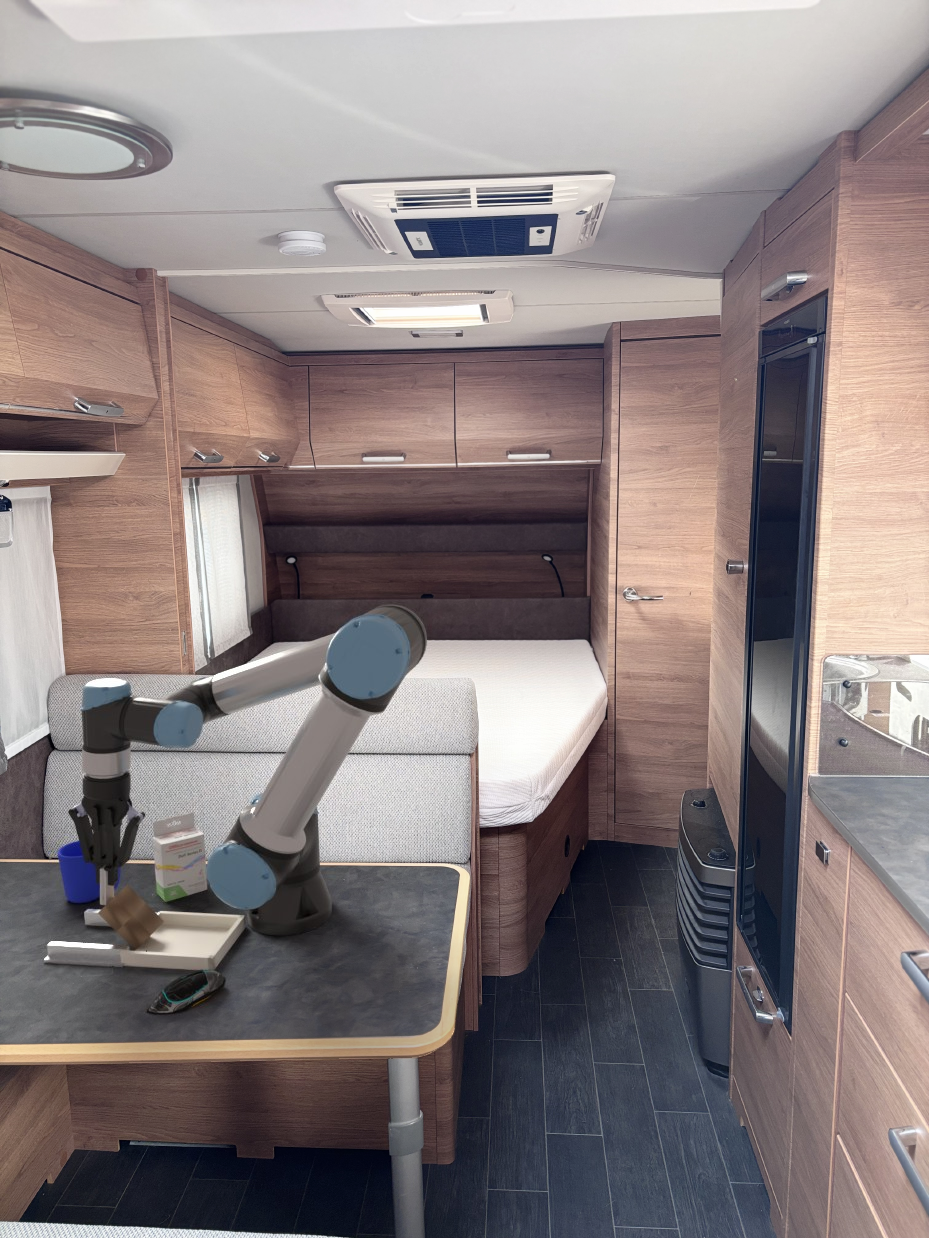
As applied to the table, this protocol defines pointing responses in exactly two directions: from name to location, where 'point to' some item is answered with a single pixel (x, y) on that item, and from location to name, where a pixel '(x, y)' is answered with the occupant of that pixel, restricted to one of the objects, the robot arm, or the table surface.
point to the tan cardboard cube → (140, 926)
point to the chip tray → (187, 941)
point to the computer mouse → (187, 992)
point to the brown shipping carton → (121, 908)
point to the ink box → (179, 857)
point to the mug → (78, 875)
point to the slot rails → (87, 948)
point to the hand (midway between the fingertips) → (107, 901)
